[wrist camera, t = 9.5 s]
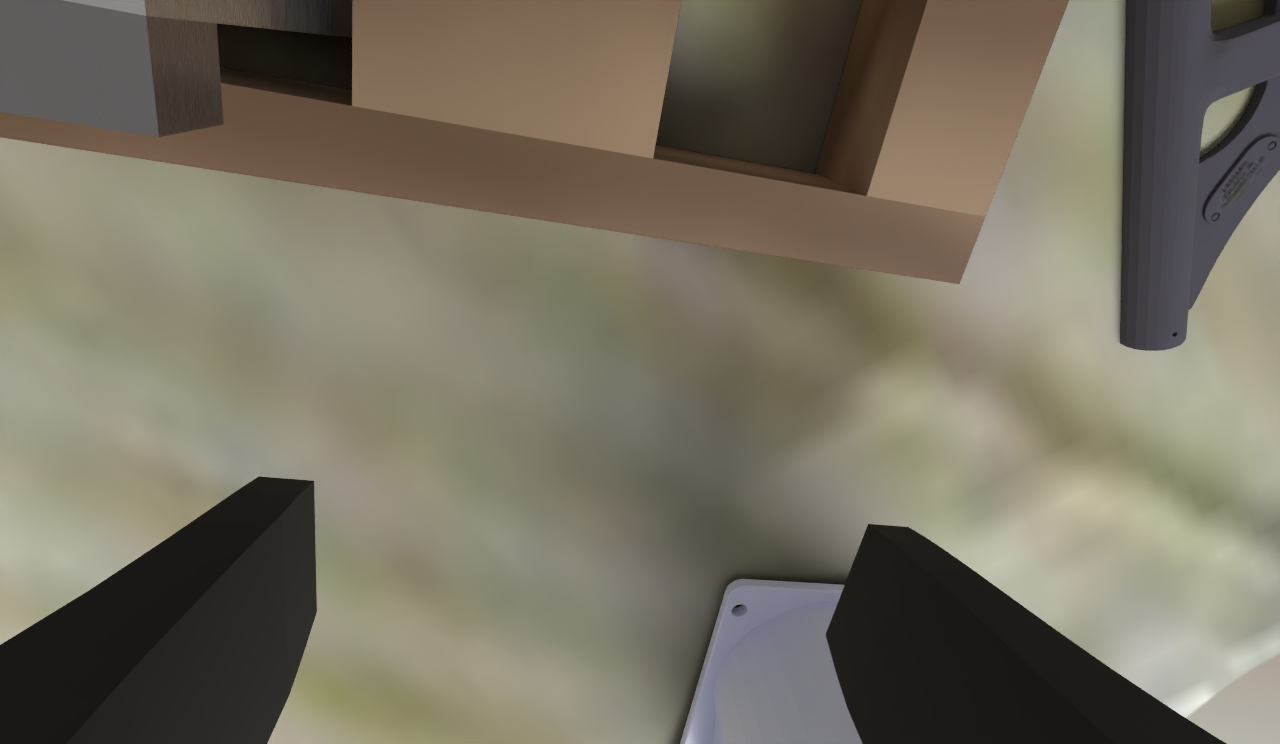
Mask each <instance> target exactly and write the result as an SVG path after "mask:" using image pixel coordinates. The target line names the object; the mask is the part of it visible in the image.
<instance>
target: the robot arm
mask: <svg viewBox="0 0 1280 744" xmlns="http://www.w3.org/2000/svg"><path fill="white" fill-rule="evenodd" d="M740 604H742V605H741V606H740V607H736V608H733V607H734V606H736V605H740ZM316 612H317V604H316V557H315V510H314V481H308V480H295V479H282V478H269V477H258V478H256V479H254V480H253V481H251V482H250V483H248V484H247V485H245V486H244V487H242V488H241V489H239V490H238V491H236V492H235V493H233V494H232V495H230V496H229V497H227V498H226V499H224V500H223V501H222V502H220V503H219V504H217V505H216V506H214V507H213V508H211V509H210V510H208V511H207V512H206V513H204V514H203V515H201V516H200V517H198V518H197V519H195V520H194V521H192V522H191V523H190V524H188V525H187V526H185V527H184V528H182V529H181V530H179V531H178V532H176V533H175V534H173V535H172V536H171V537H169V538H168V539H166V540H165V541H163V542H162V543H160V544H159V545H157V546H156V547H154V548H153V549H151V550H150V551H148V552H147V553H145V554H144V555H142V556H141V557H139V558H138V559H136V560H135V561H133V562H132V563H130V564H129V565H127V566H126V567H124V568H123V569H121V570H119V571H118V572H116V573H115V574H113V575H112V576H110V577H109V578H107V579H106V580H104V581H103V582H101V583H100V584H98V585H97V586H95V587H94V588H92V589H91V590H89V591H88V592H86V593H84V594H83V595H81V596H79V597H78V598H76V599H75V600H73V601H71V602H70V603H68V604H66V605H65V606H63V607H62V608H60V609H58V610H57V611H55V612H53V613H52V614H50V615H48V616H47V617H45V618H44V619H42V620H40V621H39V622H37V623H35V624H34V625H32V626H30V627H29V628H27V629H26V630H24V631H22V632H21V633H19V634H17V635H16V636H14V637H13V638H11V639H9V640H8V641H6V642H4V643H3V644H1V645H0V744H267V742H268V740H269V738H270V736H271V734H272V732H273V729H274V727H275V725H276V723H277V721H278V718H279V716H280V714H281V712H282V710H283V707H284V705H285V703H286V701H287V699H288V696H289V694H290V691H291V688H292V685H293V682H294V679H295V677H296V674H297V671H298V668H299V665H300V662H301V659H302V656H303V653H304V650H305V647H306V644H307V640H308V637H309V634H310V631H311V628H312V625H313V622H314V619H315V616H316ZM680 744H1226V743H1224V742H1223V741H1221V740H1219V739H1218V738H1216V737H1214V736H1213V735H1211V734H1210V733H1208V732H1207V731H1205V730H1203V729H1202V728H1200V727H1199V726H1197V725H1195V724H1194V723H1192V722H1191V721H1189V720H1188V719H1186V718H1184V717H1183V716H1181V715H1180V714H1178V713H1177V712H1175V711H1174V710H1172V709H1171V708H1169V707H1168V706H1166V705H1165V704H1163V703H1162V702H1160V701H1159V700H1157V699H1156V698H1154V697H1153V696H1151V695H1150V694H1148V693H1147V692H1145V691H1144V690H1142V689H1141V688H1139V687H1138V686H1136V685H1135V684H1133V683H1132V682H1130V681H1129V680H1127V679H1126V678H1124V677H1123V676H1121V675H1120V674H1118V673H1117V672H1115V671H1114V670H1112V669H1111V668H1109V667H1108V666H1106V665H1105V664H1103V663H1102V662H1101V661H1099V660H1098V659H1096V658H1095V657H1093V656H1092V655H1090V654H1089V653H1088V652H1086V651H1085V650H1083V649H1082V648H1080V647H1079V646H1078V645H1076V644H1075V643H1073V642H1072V641H1070V640H1069V639H1068V638H1066V637H1065V636H1063V635H1062V634H1061V633H1059V632H1058V631H1056V630H1055V629H1054V628H1052V627H1051V626H1049V625H1048V624H1047V623H1045V622H1044V621H1042V620H1041V619H1040V618H1038V617H1037V616H1036V615H1034V614H1033V613H1031V612H1030V611H1029V610H1027V609H1026V608H1024V607H1023V606H1022V605H1020V604H1019V603H1018V602H1016V601H1015V600H1013V599H1012V598H1011V597H1009V596H1008V595H1007V594H1005V593H1004V592H1002V591H1001V590H1000V589H998V588H997V587H995V586H994V585H993V584H991V583H990V582H989V581H987V580H986V579H984V578H983V577H982V576H980V575H979V574H978V573H976V572H975V571H973V570H972V569H971V568H969V567H968V566H966V565H965V564H964V563H962V562H961V561H959V560H958V559H956V558H955V557H954V556H952V555H951V554H949V553H948V552H946V551H945V550H943V549H942V548H940V547H939V546H938V545H936V544H935V543H933V542H931V541H930V540H928V539H927V538H925V537H924V536H922V535H920V534H919V533H917V532H915V531H914V530H912V529H910V528H909V527H898V526H886V525H873V524H868V526H867V529H866V531H865V534H864V537H863V539H862V542H861V544H860V547H859V549H858V552H857V555H856V557H855V560H854V562H853V565H852V568H851V570H850V573H849V575H848V578H847V580H846V583H845V585H839V584H822V583H805V582H788V581H772V580H755V579H738V580H736V581H733V582H732V583H730V584H729V585H728V587H727V588H726V590H725V594H724V597H723V600H722V604H721V607H720V610H719V614H718V617H717V621H716V624H715V627H714V631H713V634H712V637H711V641H710V644H709V648H708V651H707V654H706V658H705V661H704V664H703V668H702V671H701V674H700V678H699V681H698V685H697V688H696V691H695V695H694V698H693V701H692V705H691V708H690V712H689V715H688V718H687V722H686V725H685V728H684V732H683V735H682V739H681V742H680Z"/></svg>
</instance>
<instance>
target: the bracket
mask: <svg viewBox="0 0 1280 744" xmlns="http://www.w3.org/2000/svg"><path fill="white" fill-rule="evenodd" d="M1256 84H1257V85H1256ZM1253 85H1256V88H1255V91H1254V94H1253V96H1252V99H1251V101H1250V103H1249V105H1248V107H1247V109H1246V111H1245V113H1244V114H1243V116H1242V118H1241V119H1240V121H1239V122H1238V124H1237V125H1236V126H1235V128H1234V129H1233V130H1232V131H1231V133H1230V134H1229V135H1228V136H1227V137H1226V138H1225V139H1224V140H1223V141H1222V142H1221V143H1220V144H1219V145H1217V146H1216V147H1215V148H1214V149H1212V150H1211V151H1210V152H1208V153H1207V154H1205V155H1204V156H1202V157H1200V146H1201V134H1202V127H1203V120H1204V116H1205V112H1206V110H1207V108H1208V107H1209V105H1211V104H1212V103H1213V102H1215V101H1216V100H1218V99H1221V98H1223V97H1226V96H1228V95H1231V94H1233V93H1236V92H1238V91H1241V90H1243V89H1246V88H1248V87H1251V86H1253ZM1199 157H1200V158H1199ZM1279 170H1280V0H1265V8H1264V15H1263V16H1261V17H1259V18H1256V19H1253V20H1250V21H1247V22H1245V23H1242V24H1239V25H1235V26H1232V27H1229V28H1225V29H1222V30H1219V31H1214V32H1212V27H1211V0H1127V13H1126V65H1125V116H1124V168H1123V219H1122V271H1121V322H1120V343H1121V344H1123V345H1125V346H1126V347H1130V348H1133V349H1139V350H1156V351H1157V350H1166V349H1171V348H1174V347H1177V346H1179V345H1181V344H1182V343H1183V342H1184V341H1185V339H1186V332H1187V319H1188V310H1189V309H1191V308H1192V306H1193V304H1194V303H1195V301H1196V299H1197V297H1198V295H1199V293H1200V291H1201V289H1202V287H1203V285H1204V283H1205V281H1206V279H1207V277H1208V275H1209V273H1210V271H1211V270H1212V268H1213V266H1214V264H1215V262H1216V260H1217V259H1218V257H1219V255H1220V253H1221V252H1222V250H1223V248H1224V246H1225V245H1226V243H1227V242H1228V240H1229V238H1230V237H1231V235H1232V233H1233V232H1234V230H1235V229H1236V227H1237V226H1238V224H1239V223H1240V221H1241V220H1242V218H1243V217H1244V215H1245V214H1246V213H1247V211H1248V210H1249V208H1250V207H1251V206H1252V204H1253V203H1254V202H1255V200H1256V199H1257V198H1258V196H1259V195H1260V194H1261V192H1262V191H1263V190H1264V188H1265V187H1266V186H1267V185H1268V183H1269V182H1270V181H1271V180H1272V178H1273V177H1274V176H1275V175H1276V174H1277V172H1278V171H1279Z"/></svg>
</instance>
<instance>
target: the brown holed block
mask: <svg viewBox="0 0 1280 744" xmlns="http://www.w3.org/2000/svg"><path fill="white" fill-rule="evenodd" d="M1068 1H1069V0H863V2H862V5H861V9H860V13H859V16H858V20H857V23H856V27H855V31H854V34H853V38H852V41H851V45H850V49H849V52H848V56H847V60H846V63H845V67H844V70H843V74H842V78H841V81H840V85H839V88H838V92H837V96H836V99H835V103H834V107H833V110H832V114H831V117H830V121H829V125H828V128H827V132H826V135H825V139H824V143H823V146H822V150H821V154H820V157H819V161H818V164H817V168H816V172H815V173H809V172H804V171H798V170H793V169H787V168H781V167H776V166H770V165H765V164H759V163H754V162H748V161H742V160H737V159H731V158H726V157H720V156H714V155H709V154H703V153H698V152H692V151H686V150H681V149H675V148H670V147H664V146H658V145H656V139H657V134H658V128H659V123H660V117H661V111H662V106H663V100H664V95H665V89H666V84H667V78H668V73H669V67H670V61H671V56H672V50H673V45H674V39H675V34H676V28H677V23H678V17H679V11H680V6H681V0H352V91H351V90H345V89H340V88H334V87H329V86H323V85H317V84H312V83H306V82H301V81H295V80H289V79H284V78H278V77H273V76H267V75H261V74H256V73H250V72H245V71H239V70H233V69H228V68H222V67H220V80H221V94H222V108H223V123H224V124H223V125H218V126H213V127H208V128H203V129H198V130H193V131H188V132H183V133H178V134H173V135H168V136H163V137H154V136H148V135H142V134H135V133H129V132H123V131H116V130H110V129H104V128H97V127H91V126H85V125H78V124H72V123H66V122H60V121H53V120H47V119H41V118H34V117H28V116H22V115H15V114H9V113H3V112H0V137H3V138H9V139H16V140H22V141H29V142H35V143H42V144H48V145H55V146H61V147H68V148H74V149H81V150H87V151H94V152H101V153H107V154H114V155H120V156H127V157H133V158H140V159H146V160H153V161H159V162H166V163H172V164H179V165H185V166H192V167H199V168H205V169H212V170H218V171H225V172H231V173H238V174H244V175H251V176H257V177H264V178H270V179H277V180H283V181H290V182H297V183H303V184H310V185H316V186H323V187H329V188H336V189H342V190H349V191H355V192H362V193H368V194H375V195H381V196H388V197H395V198H401V199H408V200H414V201H421V202H427V203H434V204H440V205H447V206H453V207H460V208H466V209H473V210H479V211H486V212H493V213H499V214H506V215H512V216H519V217H525V218H532V219H538V220H545V221H551V222H558V223H564V224H571V225H577V226H584V227H591V228H597V229H604V230H610V231H617V232H623V233H630V234H636V235H643V236H649V237H656V238H662V239H669V240H675V241H682V242H689V243H695V244H702V245H708V246H715V247H721V248H728V249H734V250H741V251H747V252H754V253H760V254H767V255H773V256H780V257H786V258H793V259H800V260H806V261H813V262H819V263H826V264H832V265H839V266H845V267H852V268H858V269H865V270H871V271H878V272H884V273H891V274H898V275H904V276H911V277H917V278H924V279H930V280H937V281H943V282H950V283H956V284H959V283H960V281H961V278H962V276H963V273H964V271H965V268H966V265H967V263H968V260H969V258H970V255H971V252H972V250H973V247H974V245H975V242H976V239H977V237H978V234H979V232H980V229H981V227H982V224H983V221H984V219H985V216H986V214H987V211H988V208H989V206H990V203H991V201H992V198H993V195H994V193H995V190H996V188H997V185H998V183H999V180H1000V177H1001V175H1002V172H1003V170H1004V167H1005V164H1006V162H1007V159H1008V157H1009V154H1010V151H1011V149H1012V146H1013V144H1014V141H1015V139H1016V136H1017V133H1018V131H1019V128H1020V126H1021V123H1022V120H1023V118H1024V115H1025V113H1026V110H1027V107H1028V105H1029V102H1030V100H1031V97H1032V95H1033V92H1034V89H1035V87H1036V84H1037V82H1038V79H1039V76H1040V74H1041V71H1042V69H1043V66H1044V63H1045V61H1046V58H1047V56H1048V53H1049V51H1050V48H1051V45H1052V43H1053V40H1054V38H1055V35H1056V32H1057V30H1058V27H1059V25H1060V22H1061V19H1062V17H1063V14H1064V12H1065V9H1066V7H1067V4H1068Z"/></svg>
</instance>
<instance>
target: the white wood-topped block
mask: <svg viewBox="0 0 1280 744" xmlns="http://www.w3.org/2000/svg"><path fill="white" fill-rule="evenodd" d="M217 23H218V24H228V25H237V26H247V27H256V28H266V29H276V30H285V31H295V32H304V33H314V34H323V35H333V36H342V37H352V0H0V112H3V113H9V114H15V115H22V116H28V117H34V118H41V119H47V120H53V121H60V122H66V123H72V124H78V125H85V126H91V127H97V128H104V129H110V130H116V131H123V132H129V133H135V134H142V135H148V136H154V137H163V136H168V135H173V134H178V133H183V132H188V131H193V130H198V129H203V128H208V127H213V126H218V125H223V124H224V123H223V108H222V94H221V80H220V65H219V51H218V36H217Z"/></svg>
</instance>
